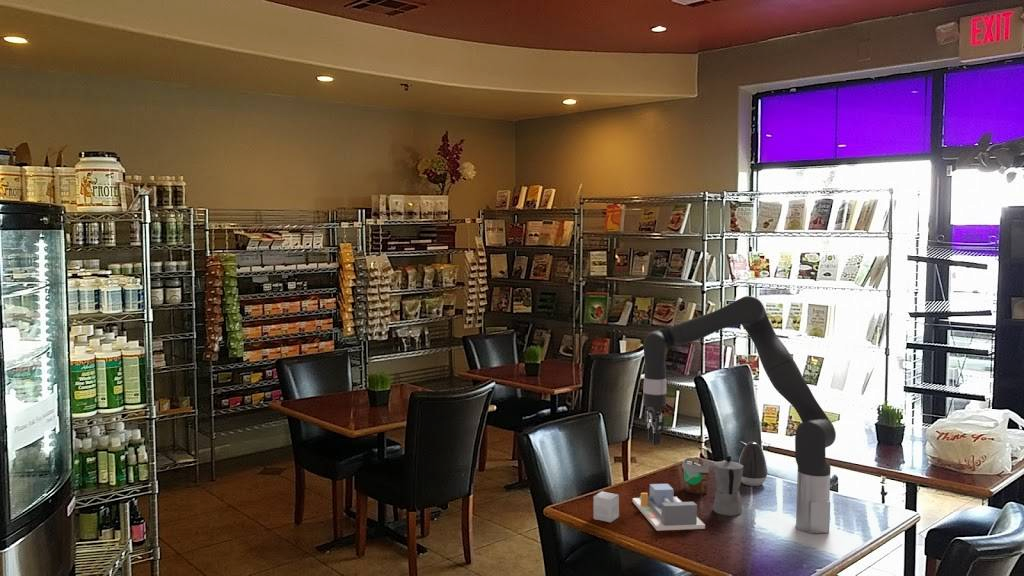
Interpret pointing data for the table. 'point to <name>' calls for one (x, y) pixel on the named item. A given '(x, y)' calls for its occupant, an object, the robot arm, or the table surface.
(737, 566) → the table surface
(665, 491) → the plunger
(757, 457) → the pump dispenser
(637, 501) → the bench
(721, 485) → the coffeepot
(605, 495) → the skincare box
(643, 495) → the block
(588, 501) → the table surface
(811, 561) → the table surface
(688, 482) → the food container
